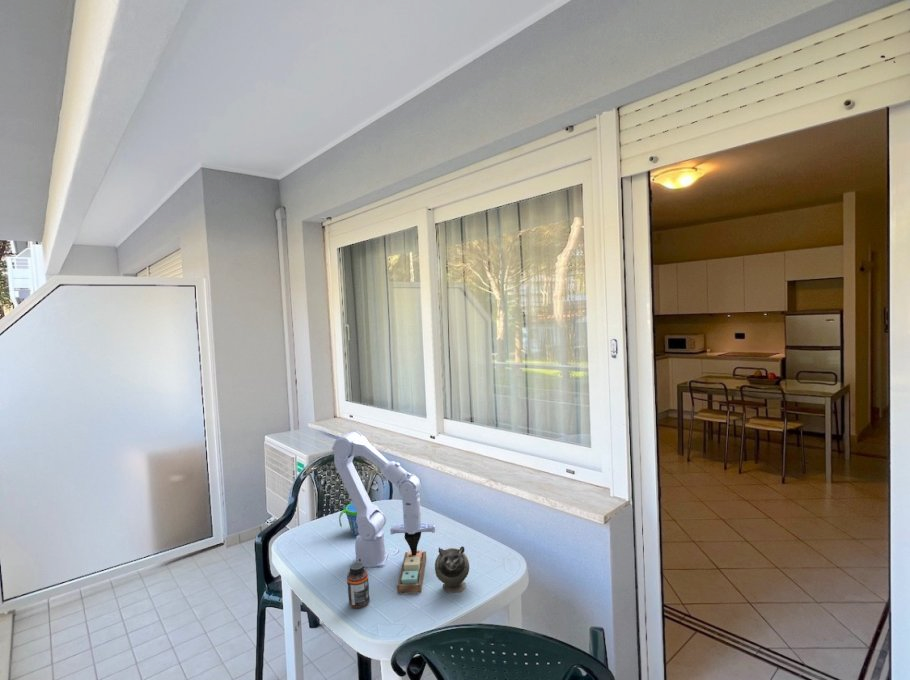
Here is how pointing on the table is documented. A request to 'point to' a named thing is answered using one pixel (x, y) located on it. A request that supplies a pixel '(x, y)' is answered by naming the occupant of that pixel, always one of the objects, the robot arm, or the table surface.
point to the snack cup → (351, 518)
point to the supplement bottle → (358, 585)
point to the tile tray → (412, 587)
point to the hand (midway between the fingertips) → (414, 553)
